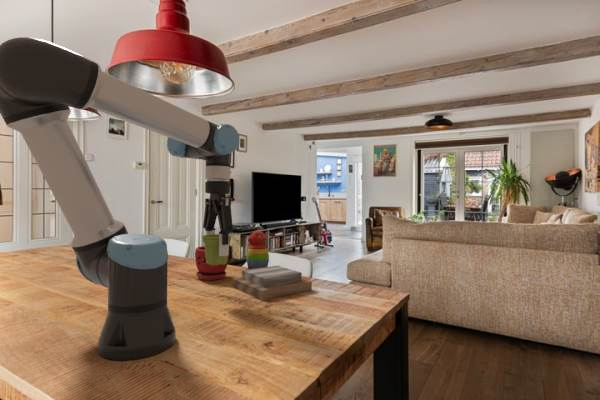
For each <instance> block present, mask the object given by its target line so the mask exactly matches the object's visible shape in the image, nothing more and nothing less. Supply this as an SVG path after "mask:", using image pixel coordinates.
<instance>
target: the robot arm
mask: <svg viewBox="0 0 600 400" xmlns="http://www.w3.org/2000/svg"><path fill="white" fill-rule="evenodd" d="M70 107H74V108H76V109H79V110H84V109H87V108H91V109H93V110H95V111H98V112H102V113H103V114H106V115H109V116H112V117H114V118H117V119H120V120H122V121H125V122H127V123H129V124H132V125H136V127H137V126H138V127H141V128H143V129H146V130H147V131H148V130H149V131H151V132H154V133H156V134H158V135H161V136H164V137H166V138H167V142H166V143H167V144H166V147H167V148H166V149H167V151H168V152H169V154H170V155H171V156H173V157H177V158H181V159H182V158H183V159H184V158H185V159H195V160H202V161H205V167H204V170H205V171H204V172H205V173H204V177H205V180H206V181H205V182H204V183H205V184H204V187H205V188H204V189H205V190H204V192H205V194H209V198H208V197H207V198H205V200H204V202H205V204H204V205H205V207H204V215H203V223H202V227H203V229H204V230H205V235H214V234H216V230H217V229H216V227H215V225H216V222H217V221H218V224H219V231H218V234H219V256H228V253H229V254H230V244H229V235H231V233H233V232H234V225H233V217H232V216H233V214H232V208H231V206H232V199H231V198H227V195H228V194H231V183H230V180H231V174H232V171H231V164H232V163H231V162H232V160H231V157H232V153H235V152H236V150H237V149H238V148H239V146H240V135H239V133H238V132H239V131H238V130H237V129H236V127H234V126H233V125H231V124H229V123H228V124H227V123H220V124H216V123H213V122H212V121H209V120H207V119H204V118H203V117H201V116H198V115H196V114H194V113H192V112H190V111H188V110H186V109H183V108H181V107H180V106H177V105H174V104H172V103H171V102H168V101H167V100H165V99H163V98H160V97H158V96H155V95H154V94H152V93H149V92H147V91H145V90H144V89H141V88H138V87H136V86H134V85H132V84H130V83H128V82H125V81H124V80H122V79H119V78H117V77H115V76H113V75H112V74H109V73H107V72H105V71H103V70H102V68H101V65H100V64H99V63H98V62H96V61H94V60H92V59H90V58H88V57H85V56H83V55H81V54H79V53H77V52H74V51H72V50H71V49H68V48H66V47H63V46H61V45H58V44H55V43H53V42H50V41H47V40H44V39H39V38H34V37H28V36H25V37H20V36H19V37H13V38H10V39H7V40H5V41H4V42H2V43H1V44H0V116H1V117H2V120H3V121H4V123H5V125H6V127H7V128H10V129H12V130H15V131H17V132H18V133H20V134H21V136H22V138H23V140H24V142H25V144H26V145H27V147H28V149H29V151H30V153H31V155H32V157H33V159H34V160H35V162H36V164H37V166H38V168H39V170H40V172H41V174H42V176H43V178H44V180H45V181H46V184H47V185H48V188H49V189H50V192H51V193H52V195H53V197H54V199H55V200H56V203H57V205H58V206H59V207H60V210H61V212H62V214H63V216H64V217H65V219H66V221H67V223H68V225H69V227H70V229H71V232H72V233H73V237H72V240H71V243H70V246H71V248H72V250H73V251H74V255H75V263H76V267H77V270H78V271H79V273H80V274H81V276H83V277H84V278H85V279H86V281H87V280H88V281H89V282H90V283H94V284H95V285H100V286H102V287H105V288H107V315H106V316H105V321H104V324H103V326H102V329H101V332H100V335H99V337H98V343H97V347H98V348H97V352H98V355H100V356H101V357H102V358H104V359H108V360H113V361H129V360H130V361H131V360H137V359H143V358H147V357H151V356H154V355H157V354H159V353H162V352H164V351H166V350H167V349H168V350H169V348H170V347H172V346H173V345H174V344H175V342H176V336H177V335H176V326H175V325H174V321H173V319H172V315H171V313H170V309H169V307H168V262H169V261H168V260H169V252H168V244H167V242H166V240H165V239H164V238H163V237H160V236H157V235H153V234H145V233H129V232H128V230H127V227H126V226H125V224H124V222H123V221H119V220H116V219H114V217H113V214H112V212H111V211H110V208H109V206H108V204H107V202H106V199H105V198H104V196H103V193H102V192H101V189H100V187H99V185H98V183H97V181H96V179H95V178H94V175H93V172H92V171H91V169H90V167H89V164H88V161H87V160H86V157H85V156H84V154H83V152H82V149H81V148H80V145H79V144H78V141H77V140H76V138H75V134H74V133H73V131H72V128H71V126H70V124H69V123H68V118H69V117H70V115H71V113H72V110H71V108H70Z"/></svg>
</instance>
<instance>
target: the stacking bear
mask: <svg viewBox="0 0 600 400" xmlns="http://www.w3.org/2000/svg"><path fill="white" fill-rule="evenodd" d="M249 235H250V236H249V237H248V238H247V241H248V243H249V244H250V245H249V246H248V248H247V254H246V264H247V268H246V269H245V270H249V269H257V268H264V267H269V263H270V254H269V249H268V247H267V246H266V245H265V242H266V234H265V233H264V232H263V231H262V230H259V231H256V230H255V231H253V232H251V234H249Z"/></svg>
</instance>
